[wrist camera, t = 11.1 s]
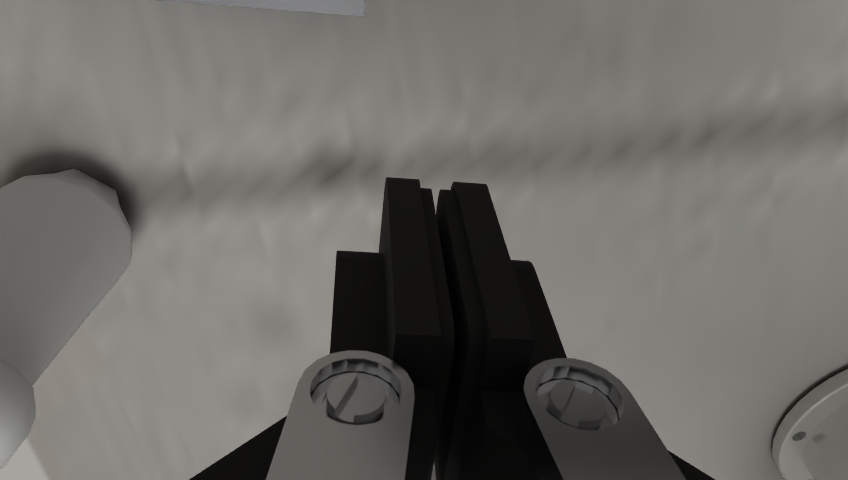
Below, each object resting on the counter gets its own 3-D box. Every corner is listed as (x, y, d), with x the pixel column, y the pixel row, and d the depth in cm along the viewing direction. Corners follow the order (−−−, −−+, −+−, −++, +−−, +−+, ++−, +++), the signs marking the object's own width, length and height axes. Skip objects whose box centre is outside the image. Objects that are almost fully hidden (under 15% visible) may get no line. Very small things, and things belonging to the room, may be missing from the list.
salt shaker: (67, 281, 32) (-71, 535, 21) (-29, 187, 29) (-247, 429, 18) (172, 231, 31) (83, 470, 20) (85, 128, 28) (-74, 347, 17)
